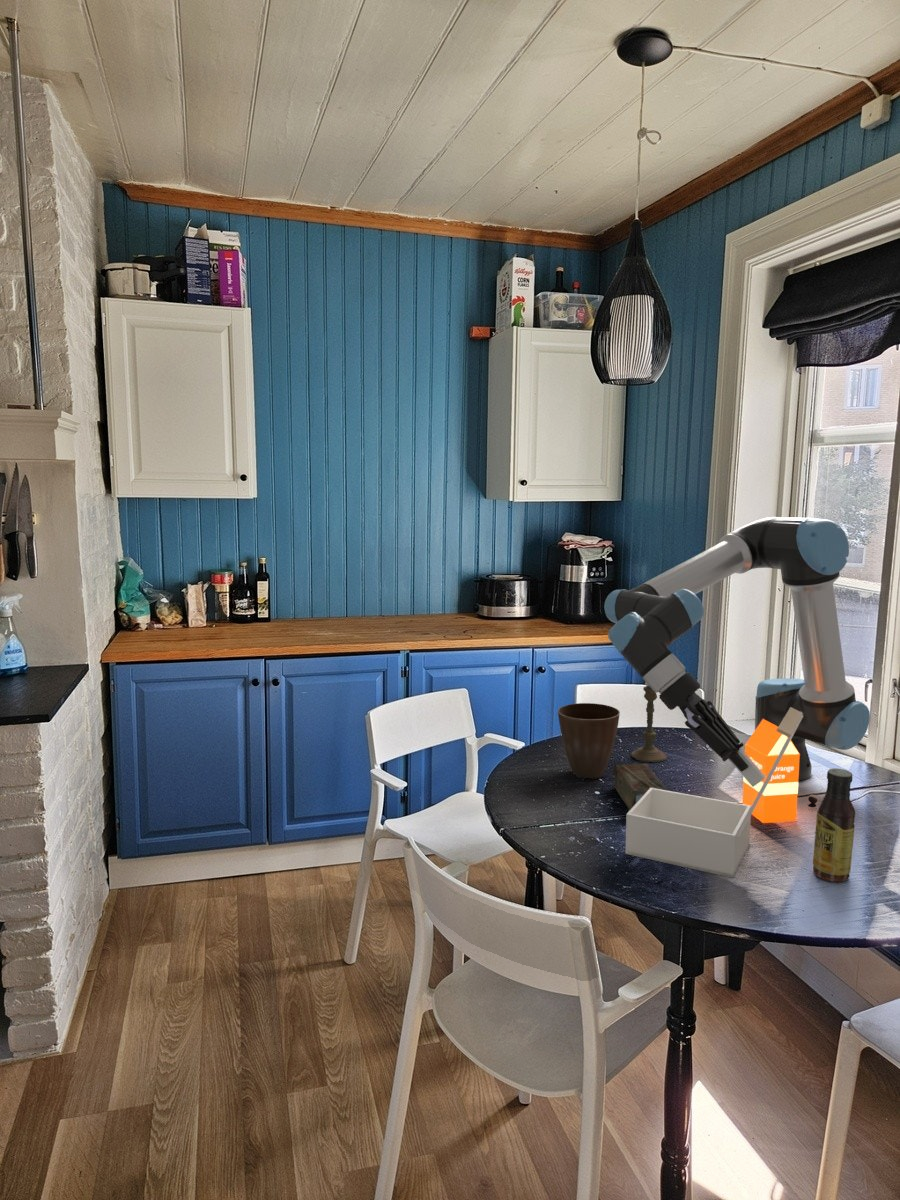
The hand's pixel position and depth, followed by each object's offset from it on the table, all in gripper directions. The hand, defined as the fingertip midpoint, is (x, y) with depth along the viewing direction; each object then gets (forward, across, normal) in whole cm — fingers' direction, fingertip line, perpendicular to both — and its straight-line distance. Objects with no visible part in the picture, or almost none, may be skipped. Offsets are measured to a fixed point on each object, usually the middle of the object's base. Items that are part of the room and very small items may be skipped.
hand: (759, 781), depth 151 cm
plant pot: (-20, -31, -43) cm, 56 cm away
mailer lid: (-2, 0, +2) cm, 3 cm away
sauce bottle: (+21, -2, -2) cm, 21 cm away
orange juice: (+10, -26, -13) cm, 31 cm away
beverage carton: (-8, -19, -31) cm, 37 cm away
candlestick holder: (-13, -50, -36) cm, 64 cm away
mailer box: (+3, 0, -20) cm, 20 cm away
